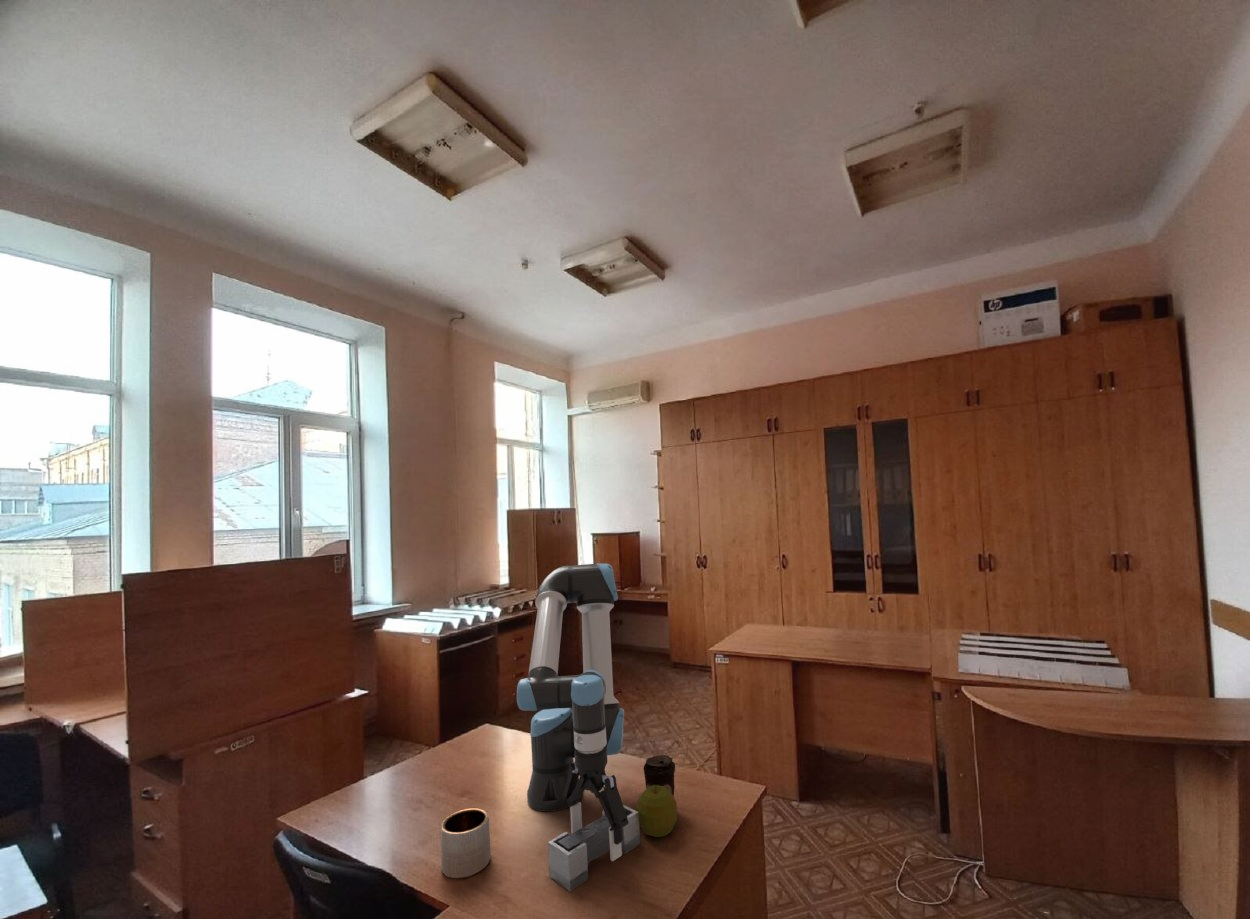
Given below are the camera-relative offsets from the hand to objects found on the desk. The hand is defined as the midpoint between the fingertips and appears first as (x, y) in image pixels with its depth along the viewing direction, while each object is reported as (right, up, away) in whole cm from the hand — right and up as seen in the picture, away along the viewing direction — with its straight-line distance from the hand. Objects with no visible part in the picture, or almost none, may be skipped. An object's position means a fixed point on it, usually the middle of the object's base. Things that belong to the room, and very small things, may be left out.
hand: (595, 845), depth 120 cm
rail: (0, -1, -1) cm, 1 cm away
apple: (+15, -3, +8) cm, 17 cm away
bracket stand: (0, -3, 0) cm, 3 cm away
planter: (-30, -5, +1) cm, 30 cm away
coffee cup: (+16, -4, +17) cm, 24 cm away
